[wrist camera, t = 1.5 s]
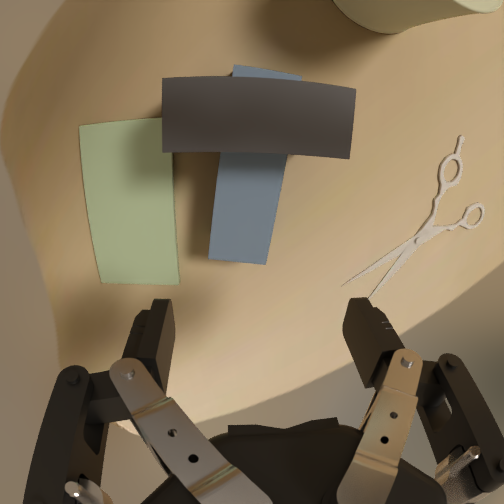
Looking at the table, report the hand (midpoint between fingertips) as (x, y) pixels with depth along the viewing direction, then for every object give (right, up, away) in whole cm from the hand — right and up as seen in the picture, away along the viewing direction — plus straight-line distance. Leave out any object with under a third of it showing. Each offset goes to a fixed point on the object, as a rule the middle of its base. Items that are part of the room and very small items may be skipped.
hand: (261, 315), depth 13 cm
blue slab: (-1, +10, +11) cm, 15 cm away
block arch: (-1, +14, +9) cm, 16 cm away
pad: (-11, +7, +11) cm, 17 cm away
